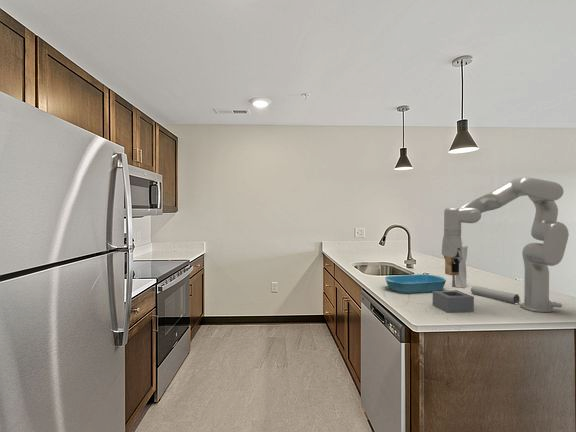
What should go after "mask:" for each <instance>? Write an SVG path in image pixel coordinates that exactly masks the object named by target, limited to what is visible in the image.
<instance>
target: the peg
mask: <svg viewBox="0 0 576 432" xmlns="http://www.w3.org/2000/svg"><path fill="white" fill-rule="evenodd" d="M455 257H457V256H455ZM455 260H456V259H455ZM452 264H453V260H452V258H451V257H447V256H445V258H444V274H445V275H448V276H453V275H459V272H452Z"/></svg>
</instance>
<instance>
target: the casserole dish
mask: <svg viewBox="0 0 576 432" xmlns="http://www.w3.org/2000/svg"><path fill="white" fill-rule="evenodd" d="M384 278H385V282H386V284H387V287H388V288H389V289H390V288H391V290H392V289H393V291H395V292H397V293H401V294H419V293H420V294H421V293H422V294H423V293H433V291H443V289H444V287H445V284H446V282H447V279H446V278H444V277H443V276H439V275H434V274H426V273H424V274H422V273H421V274H420V273H419V274H417V273H416V274H403V275H388V276H385V277H384Z"/></svg>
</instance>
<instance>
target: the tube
mask: <svg viewBox="0 0 576 432" xmlns="http://www.w3.org/2000/svg"><path fill="white" fill-rule="evenodd" d="M470 292H471V293H472V294H473V295H477V296H480V297H485V298H487V299H488V298H489V299H491V300H492V299H493V300H497V301H500V302H504V301H505V302H504V303H508V302H509V303H508V304H512V303H513V304H514V305H516V304H515V303H518V304H519V303H520V302H521V299H520V297H521V296H520V295H519V294H518V293H511V292H508V291H503V290H497V289H493V288H488V287H484V286H483V287H482V286H480V285H479V286H478V285H474V286H471V288H470Z"/></svg>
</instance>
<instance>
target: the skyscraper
mask: <svg viewBox="0 0 576 432" xmlns="http://www.w3.org/2000/svg"><path fill="white" fill-rule="evenodd" d="M467 256H468V245H466V244H465V245H464V242H463V241H462V257H463V259H462V260H461V261H460V264H459V275H451V276H452V278H451V280H452V282H451V283H452V284H451V287H452V288H458V289H465V288H466V287H467V265H466V261H467V258H468V257H467Z"/></svg>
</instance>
